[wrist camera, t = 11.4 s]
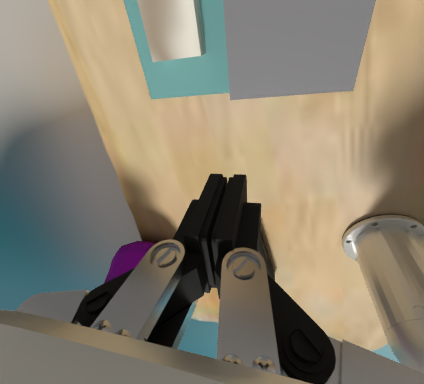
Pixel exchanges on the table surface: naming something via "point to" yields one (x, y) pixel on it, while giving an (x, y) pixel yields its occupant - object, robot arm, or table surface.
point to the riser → (294, 45)
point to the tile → (173, 28)
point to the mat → (186, 67)
